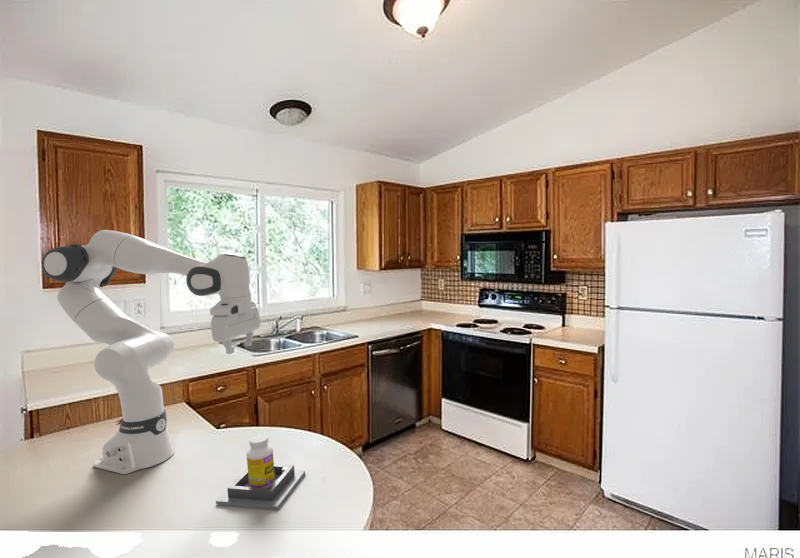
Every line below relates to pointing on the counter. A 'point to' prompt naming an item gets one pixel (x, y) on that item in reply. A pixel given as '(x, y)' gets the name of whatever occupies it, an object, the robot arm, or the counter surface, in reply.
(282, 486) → the pocket plate
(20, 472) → the counter surface
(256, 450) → the supplement bottle
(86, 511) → the counter surface
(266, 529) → the counter surface
